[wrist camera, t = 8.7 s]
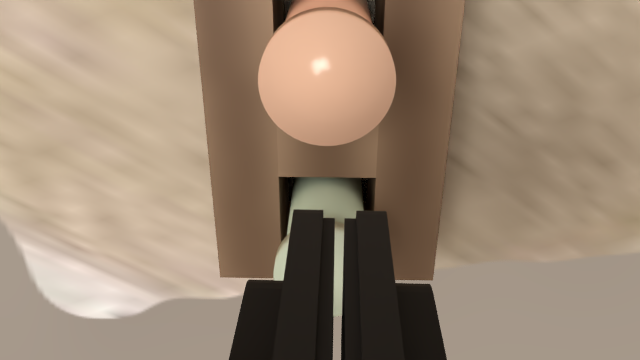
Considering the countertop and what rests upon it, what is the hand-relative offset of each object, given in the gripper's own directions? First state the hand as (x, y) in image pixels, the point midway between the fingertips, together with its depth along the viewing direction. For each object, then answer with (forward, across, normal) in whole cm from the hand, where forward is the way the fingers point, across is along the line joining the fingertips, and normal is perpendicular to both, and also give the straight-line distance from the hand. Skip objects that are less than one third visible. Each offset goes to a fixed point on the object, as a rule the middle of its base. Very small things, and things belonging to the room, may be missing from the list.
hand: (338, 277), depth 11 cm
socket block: (+24, +1, +5) cm, 25 cm away
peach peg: (+21, +1, 0) cm, 22 cm away
